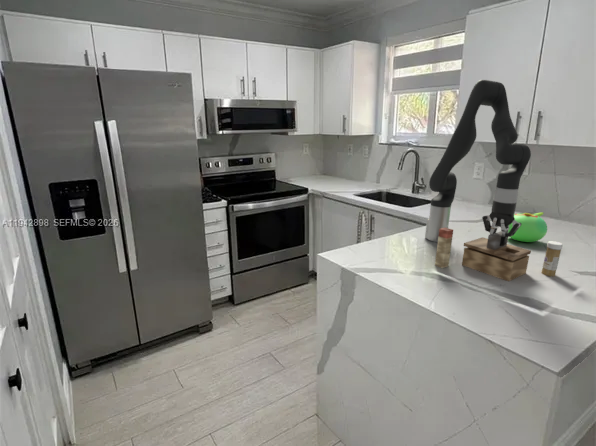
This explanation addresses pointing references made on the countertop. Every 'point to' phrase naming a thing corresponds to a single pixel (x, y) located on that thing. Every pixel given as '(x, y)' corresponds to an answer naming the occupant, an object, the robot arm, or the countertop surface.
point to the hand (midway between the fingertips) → (496, 244)
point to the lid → (497, 247)
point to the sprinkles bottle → (551, 258)
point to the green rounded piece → (529, 227)
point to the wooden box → (495, 264)
